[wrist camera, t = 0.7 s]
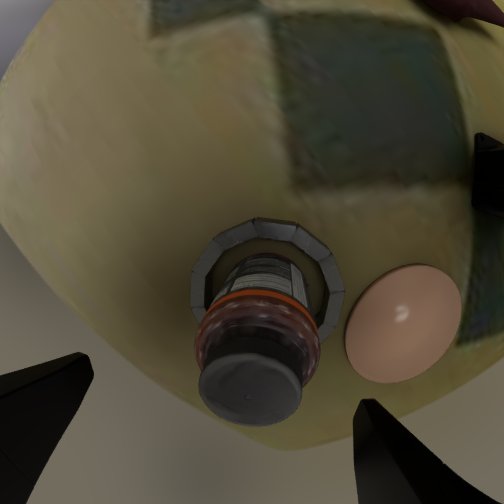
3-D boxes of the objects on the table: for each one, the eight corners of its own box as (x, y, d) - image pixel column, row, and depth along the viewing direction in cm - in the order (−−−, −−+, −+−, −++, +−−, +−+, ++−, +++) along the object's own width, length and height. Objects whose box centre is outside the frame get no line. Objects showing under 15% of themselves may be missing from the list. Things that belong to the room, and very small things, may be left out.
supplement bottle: (293, 333, 21) (294, 451, 10) (219, 312, 21) (166, 418, 10) (319, 263, 19) (355, 357, 8) (238, 240, 19) (182, 310, 9)
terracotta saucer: (470, 271, 18) (475, 273, 17) (431, 376, 20) (434, 380, 20) (362, 255, 19) (365, 258, 18) (330, 376, 21) (331, 382, 21)
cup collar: (349, 229, 18) (356, 234, 16) (321, 354, 21) (324, 369, 19) (203, 211, 19) (194, 214, 17) (197, 337, 22) (190, 350, 20)
